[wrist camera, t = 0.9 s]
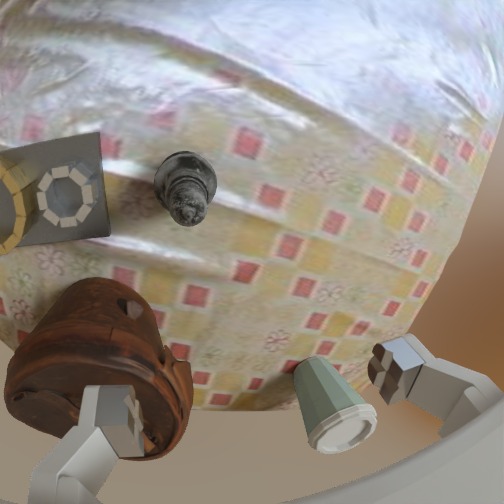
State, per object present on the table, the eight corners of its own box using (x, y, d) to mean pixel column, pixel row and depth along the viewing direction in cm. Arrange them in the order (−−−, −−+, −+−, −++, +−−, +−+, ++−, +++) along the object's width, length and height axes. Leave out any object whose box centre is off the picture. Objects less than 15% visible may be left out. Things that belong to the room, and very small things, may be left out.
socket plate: (-39, 163, 23) (-55, 170, 20) (99, 131, 27) (90, 135, 24) (-20, 248, 28) (-33, 261, 25) (111, 232, 32) (105, 246, 29)
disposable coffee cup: (268, 378, 48) (296, 455, 36) (314, 335, 46) (358, 411, 33) (308, 393, 53) (339, 459, 40) (351, 355, 51) (393, 420, 38)
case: (185, 369, 43) (200, 478, 28) (56, 363, 38) (32, 464, 22) (188, 260, 36) (204, 378, 20) (29, 255, 31) (-38, 356, 15)
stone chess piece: (171, 212, 33) (171, 268, 22) (146, 164, 30) (130, 199, 19) (221, 188, 33) (245, 233, 23) (198, 138, 30) (211, 158, 20)
